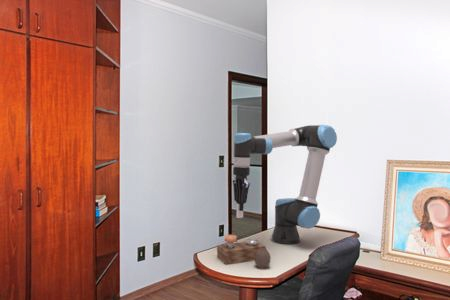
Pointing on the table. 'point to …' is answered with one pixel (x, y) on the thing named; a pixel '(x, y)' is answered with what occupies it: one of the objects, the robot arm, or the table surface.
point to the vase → (262, 257)
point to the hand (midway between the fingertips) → (239, 217)
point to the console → (237, 253)
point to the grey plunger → (251, 242)
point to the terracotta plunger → (230, 240)
